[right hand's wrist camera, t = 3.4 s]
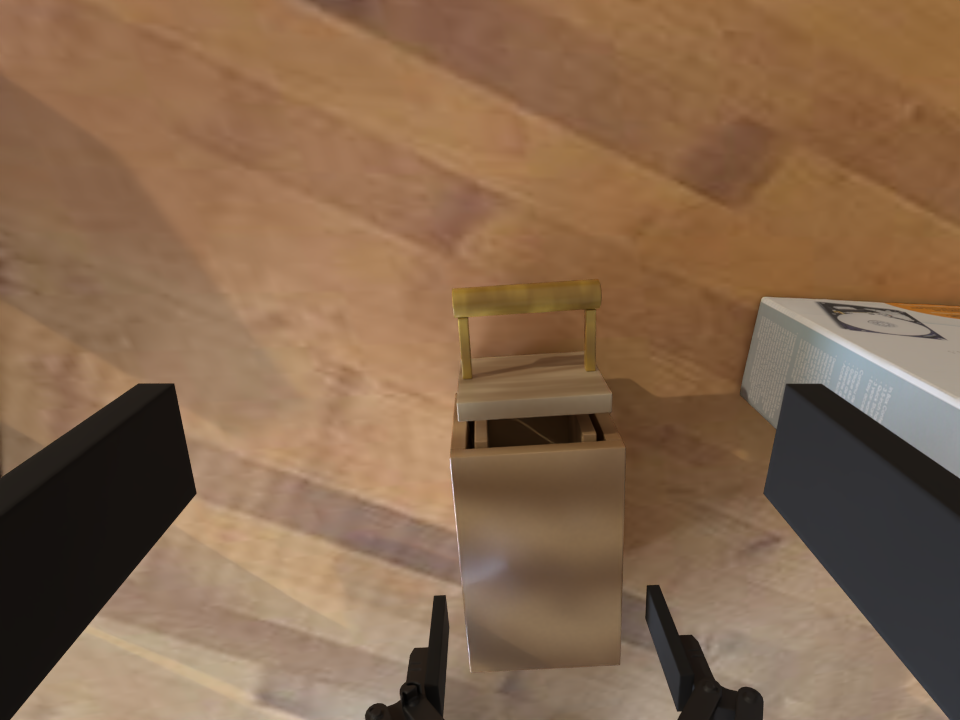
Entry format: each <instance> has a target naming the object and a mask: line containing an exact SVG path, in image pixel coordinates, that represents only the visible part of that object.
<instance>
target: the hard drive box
mask: <svg viewBox="0 0 960 720" xmlns="http://www.w3.org/2000/svg"><path fill="white" fill-rule="evenodd" d="M786 384H823V385H824V386H826V387H827V388H829V389H830V390H832V391H833V392H835V393H836V394H837V395H839V396H840V397H842V398H843V399H845V400H846V401H848V402H849V403H851V404H852V405H854V406H855V407H856V408H858V409H859V410H861V411H862V412H864V413H865V414H867V415H868V416H870V417H871V418H872V419H874V420H875V421H877V422H878V423H880V424H881V425H883V426H884V427H886V428H887V429H889V430H890V431H891V432H893V433H894V434H896V435H897V436H899V437H900V438H902V439H903V440H905V441H906V442H908V443H909V444H910V445H912V446H913V447H915V448H916V449H918V450H919V451H921V452H922V453H924V454H925V455H926V456H928V457H929V458H931V459H932V460H934V461H935V462H937V463H938V464H940V465H941V466H943V467H944V468H945V469H947V470H948V471H950V472H951V473H953V474H954V475H956V476H957V477H959V478H960V306H946V305H930V304H903V303H882V302H865V301H844V300H829V299H807V298H779V297H763V298H762V299H761V303H760V307H759V311H758V315H757V319H756V324H755V328H754V332H753V336H752V341H751V345H750V350H749V354H748V358H747V362H746V367H745V371H744V376H743V381H742V385H741V390H740V395H741V396H742V397H743V398H744V399H745V400H746V401H747V402H748V403H749V404H750V405H751V406H752V407H753V408H754V409H755V410H756V411H757V412H758V413H760V414H761V415H762V416H763V417H764V418H765V419H766V420H767V421H768V422H769V423H770V424H771V425H772V426H773V427H774V428H775V429H777V425H778V420H779V415H780V410H781V405H782V400H783V395H784V390H785V385H786Z"/></svg>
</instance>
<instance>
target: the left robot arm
mask: <svg viewBox="0 0 960 720" xmlns="http://www.w3.org/2000/svg"><path fill="white" fill-rule="evenodd" d="M645 618H646V621H647V624H648V627H649V630H650V633H651V636H652V639H653V642H654V645H655V648H656V651H657V654H658V657H659V659H660V662H661V665H662V668H663V671H664V674H665V677H666V680H667V683H668V686H669V689H670V692H671V695H672V697H673V700H674V703H675V706H676V709H677V711H682V712H681V714H680V716H679V718H678V720H763V697H762V696H761V694H760V693H759V692H758V691H756V690H755V689H753V688H750V687H742V688H740V689H739V690H738V692H737V691H733V690H729V689H726V688H724V687H722V686H721V685H720V684H719V683H718V682H717V681H715V679H714V677H713V675H712V673H711V670H710V668H709V666H708V663H707V661H706V659H705V657H704V654H703V652H702V649H701V647H700V645H699V642H698V641H697V640H696V639H695V638H694V637H693V636H692V635H679V634H678V632H677V629H676V627H675V624H674V622H673V619H672V617H671V614H670V612H669V609H668V607H667V604H666V602H665V599H664V597H663V594H662V591H661V589H660V586H659V585H647V596H646V616H645ZM448 638H449V620H448V612H447V603H446V595H440V596H434V601H433V610H432V619H431V629H430V638H429V647H426V648H414V650H413V651H412V653H411V655H410V659H409V666H408V673H407V680H406V682H405V683H404V684H403V685H402V686H401V689H400V698H401V700H400V701H398V702H397V703H395V704H393V705H390V706H388V707H387V706H386V705H384V704H382V703H377V704H374V705H372V706H371V707H369V708H368V710H367V711H366V714H365V719H366V720H444V719H443V710H444V696H445V682H446V667H447V653H448Z"/></svg>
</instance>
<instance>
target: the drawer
mask: <svg viewBox="0 0 960 720" xmlns="http://www.w3.org/2000/svg"><path fill="white" fill-rule="evenodd" d="M452 303H453V313H454V318H458V327H459V339H460V351H461V359H460V370H459V381H458V393H457V414H458V421H459V422H463V421H475V438H474V443H475V449H478V448H494V447H511V446H528V445H544V444H561V443H578V442H594V441H596V432H595V430H594V427H593V425H592V422H591V420H590V418H589V415H588V414H594V413H611V412H612V393H611V391H610V389H609V387H608V385H607V383H606V382H605V380H604V378H603V376H602V374H601V373H600V371H599V369H598V367H597V365H596V310H595V309H599V308H600V306H601V285H600V282H599V280H598V279H590V280H575V281H560V282H545V283H530V284H514V285H499V286H484V287H469V288H453V289H452ZM570 310H584V351H580V352H564V353H548V354H532V355H516V356H500V357H485V358H471V349H470V336H469V323H468V317H477V316H493V315H508V314H524V313H539V312H555V311H570Z"/></svg>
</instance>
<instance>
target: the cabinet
mask: <svg viewBox="0 0 960 720" xmlns="http://www.w3.org/2000/svg"><path fill="white" fill-rule="evenodd" d="M588 415H589V418H590V420H591V422H592V425H593V427H594V430H595V432H596V441H594V442H578V443H561V444H544V445H528V446H511V447H494V448H478V449H475V443H474V438H475V421H463V422H459V421H458V414H457V393H456V395H455V405H454V416H453V427H452V438H451V448H450V468H451V478H452V488H453V499H454V509H455V520H456V530H457V540H458V551H459V561H460V571H461V582H462V592H463V602H464V613H465V623H466V633H467V644H468V654H469V664H470V672H471V673H476V672H496V671H515V670H534V669H553V668H573V667H592V666H611V665H620V654H621V616H622V578H623V541H624V503H625V465H626V447H625V445H624V443H623V441H622V438H621V436H620V434H619V432H618V430H617V428H616V426H615V424H614V422H613V420H612V418H611V416H610V414H609V413H594V414H588Z"/></svg>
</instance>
